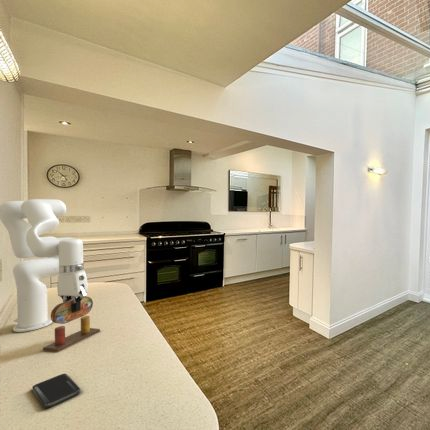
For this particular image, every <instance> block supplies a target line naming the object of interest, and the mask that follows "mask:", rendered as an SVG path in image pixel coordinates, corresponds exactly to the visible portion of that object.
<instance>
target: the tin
mask: <svg viewBox="0 0 430 430" xmlns="http://www.w3.org/2000/svg"><path fill="white" fill-rule="evenodd" d="M80 302H81V310H80V311H77V312H74V313H72V309H71V304H72V303H73V300H69V301H66V302H63V301H62V302H61V303H58V304H57V305H55V306H54V307H53V309H52V310H51V312H50V318H51V320H52V323H55V324H58V325H59V324H60V325H65V324H68V323H70V322H73V321H75V320H77V319H81V317H84V316H87V315H88V314H89V313H90V312H91V310H92V309H93V305H94V302H93V299H92V298H91V297H90V296H86V297H84V298H83V299H82V301H80Z"/></svg>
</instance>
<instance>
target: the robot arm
mask: <svg viewBox="0 0 430 430" xmlns="http://www.w3.org/2000/svg"><path fill="white" fill-rule="evenodd" d="M66 213H67V205H66V203H65V202H64V201H62V200H60V199H56V198H53V199H52V198H31V199H27V200H9V201H4V202H2V203H1V204H0V222H1V223H2V224H3V227H4V228H5V229H6V230H7V232H8V237H9V240H10V245H11V248H12V249H11V250H12V253H13V255H14V256H15V257H16V258H18V259H27V260H22V261H20V262H17V263H16V264H15V265H14V266H13V267H12V274H13V278H14V281H15V286H16V287H15V288H16V303H17V305H16V307H17V318H14V320H13V322H14V323H16V325H15V326H13V327H12V332H15V333H24V332H25V333H26V332H31V331H35V330H38V329H42V328H46V327H47V326H49V325H51V324H52V323H53V321H52V320H51V317H49V313H48V311H49V310H48V308H49V307H48V288H47V285H46V284H45V283H44V282H42V281H40V280H42V279H46V278H51V277H57V284H56V285H57V287H56V288H57V296H58V297H59V298H61V300H62V303H63V302H66V301H69V300H73V303H72V304H71V309H72V313H74V312H77V311H80V310H81V302H80V301H82V299H83V298H84V297H88V295H87V293H88V291H89V283H88V277H87V273H86V270H84V269H85V267H84V242H83V240H82V239H81V238H75V237H73V236H72V237H71V236H68V237H67V236H65V237H55V236H51V235H49V236H47V235H46V236H43V235H45V234H47V233H50V232H52V231H54V230H56V229H57V228H58V227H59V225H60V220H59V219H58V218H60V217H63V216H65V215H66ZM24 219H27V221H26V220H24ZM29 258H31V259H29ZM32 258H33V259H32Z"/></svg>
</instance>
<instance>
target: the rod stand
mask: <svg viewBox="0 0 430 430" xmlns="http://www.w3.org/2000/svg"><path fill="white" fill-rule="evenodd" d="M90 317H91V316H90V315H85V316H82V317H80V330H78V331H76V332H74V333H72V334H70V335H68V336H66V326H65V325H60V326H57V327H55V328H54V341H53V342H51V343H49V344H48V345H45V346H43V347H42V351H45V352H56V353H59V352H60V351H62V350H65V349H66V348H68V347H71V346H73V345H74V344H75V345H76V344H77V343H80V342H81V341H83V340H85V339H88V338H90V337H92V336H93V335H95V334H97V333H100V332H101V329H100V328H93V327H91V322H90V321H91V319H90Z"/></svg>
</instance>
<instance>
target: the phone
mask: <svg viewBox="0 0 430 430" xmlns="http://www.w3.org/2000/svg"><path fill="white" fill-rule="evenodd" d="M32 392H33V394H34V395H35V397H36V399H37V400H38V401H39V403H40V404H41V406H42V407H43V409H50V408H53V407H54V406H57V405H59V404H61V403H63V402H65V401H67V400H69V399H71V398H73V397H76V396H79V395H80V393H81V388H80V387H79V385H77V384H76V382H75V381H74V380H73V379H72V378H71V377H70V376H69V375H68V374H67V373H61V374H59V375H58V374H57V375H56V376H54V377H51V378H48V379H46V380H43V381H41V382H38V383H35V384H34V385H33V386H32Z"/></svg>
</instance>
